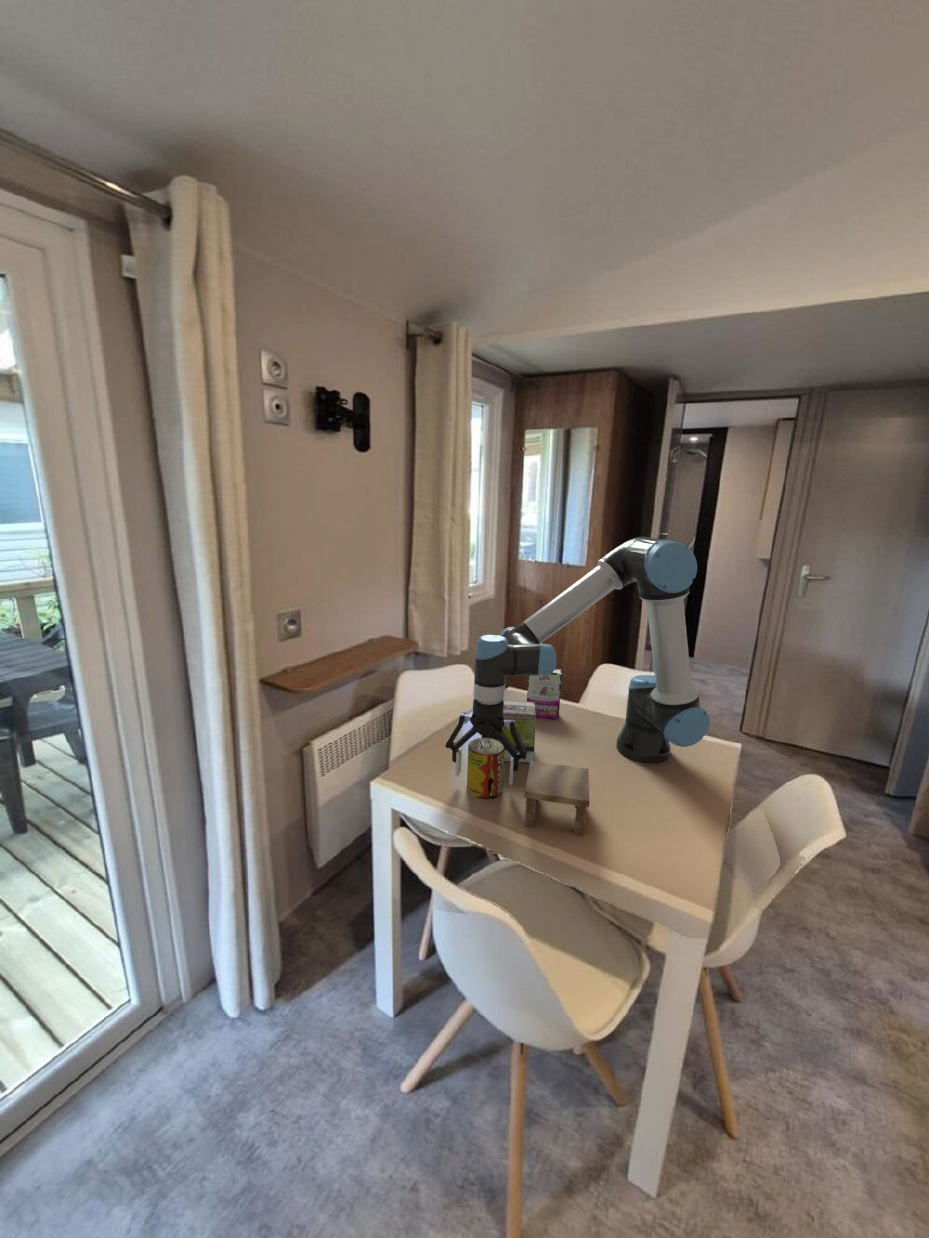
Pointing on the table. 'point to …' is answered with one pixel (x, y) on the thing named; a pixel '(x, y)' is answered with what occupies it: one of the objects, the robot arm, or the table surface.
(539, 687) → the candy bar box
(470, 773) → the beverage can
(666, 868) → the table surface
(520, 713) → the tea box
